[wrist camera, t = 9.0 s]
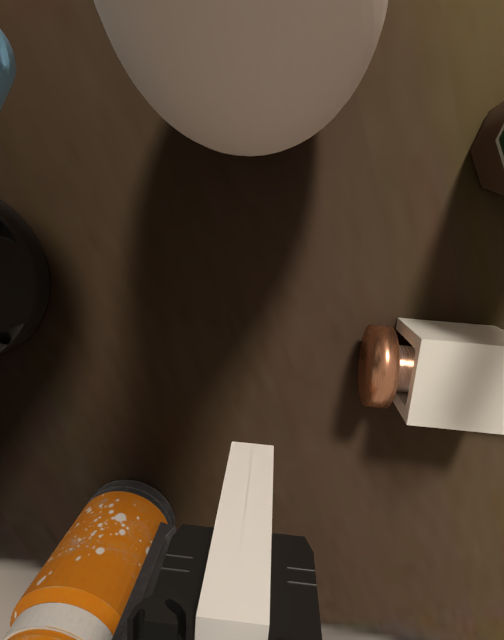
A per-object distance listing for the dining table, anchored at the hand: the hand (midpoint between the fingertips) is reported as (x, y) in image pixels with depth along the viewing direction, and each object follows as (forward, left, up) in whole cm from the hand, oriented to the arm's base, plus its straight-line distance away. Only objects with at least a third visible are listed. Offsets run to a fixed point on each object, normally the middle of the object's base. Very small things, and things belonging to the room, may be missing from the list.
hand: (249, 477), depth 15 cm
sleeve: (+15, -2, -22) cm, 26 cm away
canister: (-11, -21, -22) cm, 32 cm away
